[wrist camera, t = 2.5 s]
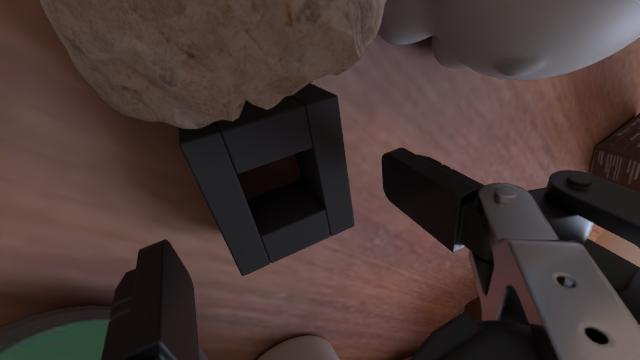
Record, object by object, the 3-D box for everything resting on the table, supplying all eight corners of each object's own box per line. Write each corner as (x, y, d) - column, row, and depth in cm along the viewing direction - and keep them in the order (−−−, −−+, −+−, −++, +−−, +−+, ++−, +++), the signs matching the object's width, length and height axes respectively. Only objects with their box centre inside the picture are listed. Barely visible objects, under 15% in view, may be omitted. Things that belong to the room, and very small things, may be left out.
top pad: (177, 118, 11) (178, 144, 9) (307, 81, 13) (338, 94, 10) (231, 235, 15) (242, 277, 12) (328, 195, 16) (355, 226, 14)
